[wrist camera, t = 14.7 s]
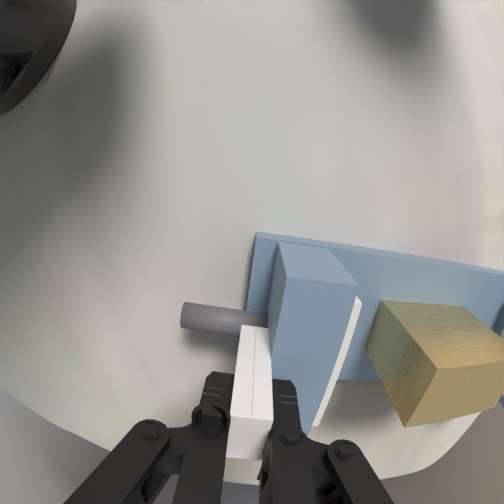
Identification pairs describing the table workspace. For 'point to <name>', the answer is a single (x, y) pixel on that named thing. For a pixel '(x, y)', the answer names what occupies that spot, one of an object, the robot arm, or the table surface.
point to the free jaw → (297, 323)
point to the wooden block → (435, 361)
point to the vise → (388, 289)
